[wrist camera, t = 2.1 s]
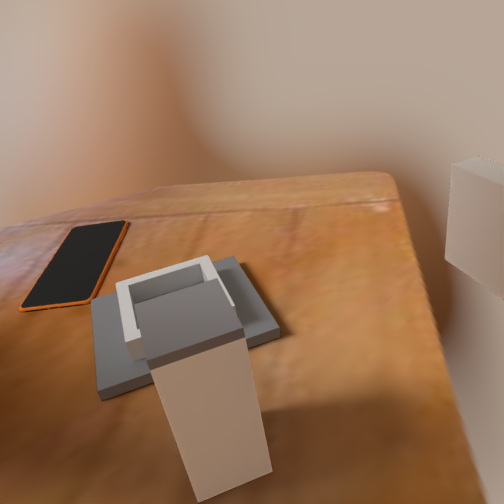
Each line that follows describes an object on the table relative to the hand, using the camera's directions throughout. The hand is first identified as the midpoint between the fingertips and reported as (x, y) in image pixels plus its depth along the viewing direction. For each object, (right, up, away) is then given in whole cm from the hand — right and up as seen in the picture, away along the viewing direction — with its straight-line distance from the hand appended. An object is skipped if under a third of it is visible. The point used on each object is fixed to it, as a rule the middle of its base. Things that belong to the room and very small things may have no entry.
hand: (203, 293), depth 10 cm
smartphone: (-18, -1, +41) cm, 45 cm away
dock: (-5, -5, +29) cm, 30 cm away
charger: (-1, -11, +18) cm, 21 cm away
